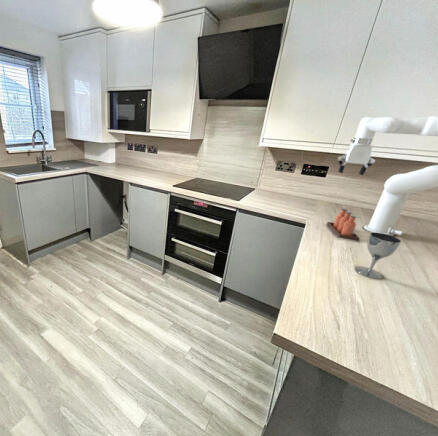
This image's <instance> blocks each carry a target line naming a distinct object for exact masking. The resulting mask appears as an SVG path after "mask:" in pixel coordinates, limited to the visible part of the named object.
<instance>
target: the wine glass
mask: <svg viewBox="0 0 438 436" xmlns="http://www.w3.org/2000/svg"><path fill="white" fill-rule="evenodd" d="M401 243H402V241H401V240H400V239H399V238H397V237H396V236H394V235H386V234H381V233H374V232H371V233H370V234H369V237H368V239H367V243H366V246H367V247H366V249H367V251H368V253H369V254H370V256H371V263H370V267H369V268H365V267H357V268H356V271H357V272H358V273H359V274H361V275H363V276H365V277H368V278H372V279H376V280H379V279H382V278H383V277H382V275H381V274H380V273H379V272H377V271H376V270H373V269H374V267H375V265H376V264H377V263H378V261H380V260H382V259H385V258H387V257H390V256H392V255H393V254H394V253H396V251H397V250H398V248H399V246H400V245H401Z"/></svg>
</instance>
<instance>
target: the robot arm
mask: <svg viewBox="0 0 438 436" xmlns="http://www.w3.org/2000/svg"><path fill="white" fill-rule="evenodd" d="M376 133H382V134H395V135H397V134H398V135H417V136H425V137H438V115H430V116H429V115H428V116H423V117H395V116H385V117H383V116H382V117H378V116H377V117H376V116H365V117H362V119H361V120H360V122H359V124H358V127H357V130H356V133H355V136H354V138H351V139H350V142H351V144H350V145H349V147H348V149H347V150H346V152H345V154H343V155H339V156H337V157H336V158H337V163H338V164H339V167H338V173H340V174H343V172H344V170H345V167H346V166H345V165H347V164H355V165H361V167H360V170H359V172H358V175H361V176H363V175H364V174H365V173H366V170H367V169H368V168H369V167H370V166H372V165H373V164H374V163H375V162H376V159H375V158H373V157H371V156H372V151H373V145H372V142H373V140H374V137H375V134H376ZM342 160H343V161H342ZM383 186H384V187H383V188H384V189H383V191H382V194H381V195H380V198H379V200H378V202H377V204H376V207H375V209H374V212H373V214H372V216H371V218H370V221H369V223H368V224H365V225H363V226H364V227H363V228H364V229H365V230H366V231H369V232H371V233H381V234H386V235H390V236H395V235H398V236H402V235H403V234H404V231H402V230H400V229H397V226H396V223H397V221H398V219H399V217H400V215H401V213H402V210H403V209H404V206H405V205H406V203H407V201H408V197H409V196H410V194H412V193H417V192H421V191H425V190H426V191H427V190H430V189H435V188H438V164H435V165H430V166H426V167H423V168H420V169H416V170H413V171H409V172H406V173H397V174H394V175H391V176H389V178H387V180H385V182H384V185H383Z"/></svg>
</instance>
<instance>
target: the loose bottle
mask: <svg viewBox="0 0 438 436" xmlns="http://www.w3.org/2000/svg"><path fill="white" fill-rule="evenodd" d="M356 218H357V215H353V214H351V215H350V218H349V220H347V221H345V223H344V226H343V228H342V231H341V235H346V236H352V234H353V232H354V231H355V229H356V227H357V223H356Z"/></svg>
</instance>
